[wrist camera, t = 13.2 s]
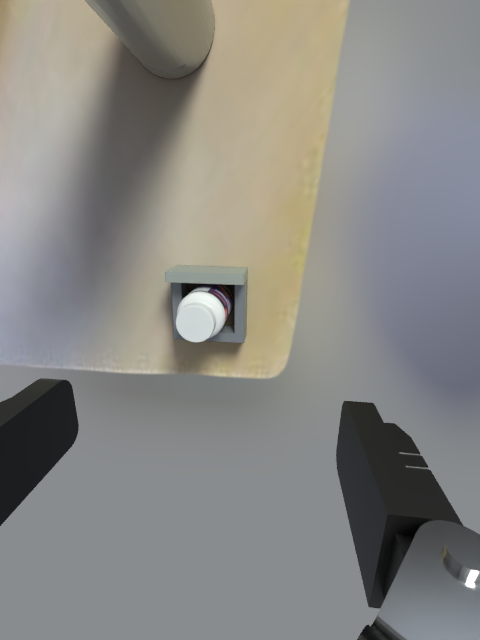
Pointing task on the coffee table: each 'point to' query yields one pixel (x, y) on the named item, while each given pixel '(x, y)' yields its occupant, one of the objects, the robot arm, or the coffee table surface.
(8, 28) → the coffee table surface
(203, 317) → the pill bottle
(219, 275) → the dock
